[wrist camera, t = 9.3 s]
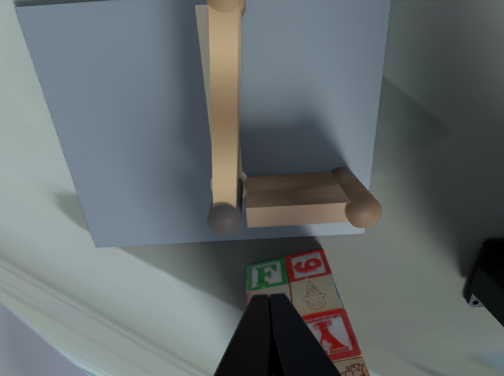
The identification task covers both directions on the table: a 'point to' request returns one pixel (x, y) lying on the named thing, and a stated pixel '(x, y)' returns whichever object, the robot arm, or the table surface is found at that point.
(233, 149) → the folding fence panel
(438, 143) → the table surface
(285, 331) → the robot arm
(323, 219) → the fixed fence section
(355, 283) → the table surface
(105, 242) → the board
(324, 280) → the stack of blocks
